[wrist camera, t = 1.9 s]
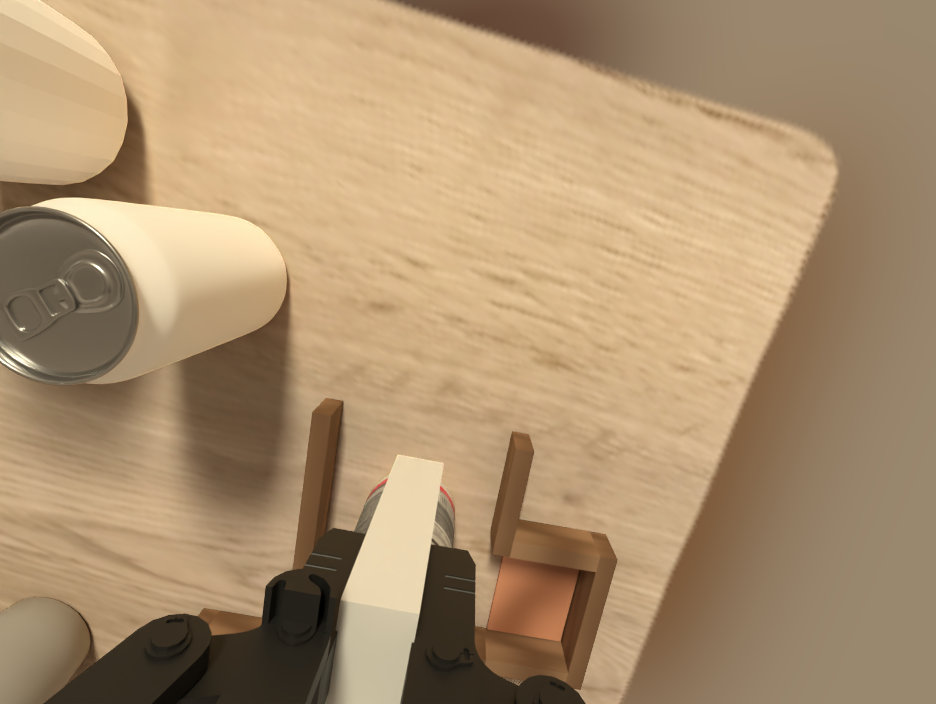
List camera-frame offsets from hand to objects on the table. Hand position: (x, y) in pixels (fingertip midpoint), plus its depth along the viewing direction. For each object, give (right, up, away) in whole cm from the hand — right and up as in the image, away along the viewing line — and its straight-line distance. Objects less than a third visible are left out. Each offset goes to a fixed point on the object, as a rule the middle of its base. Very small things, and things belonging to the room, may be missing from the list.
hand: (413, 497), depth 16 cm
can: (-11, +9, +12) cm, 18 cm away
